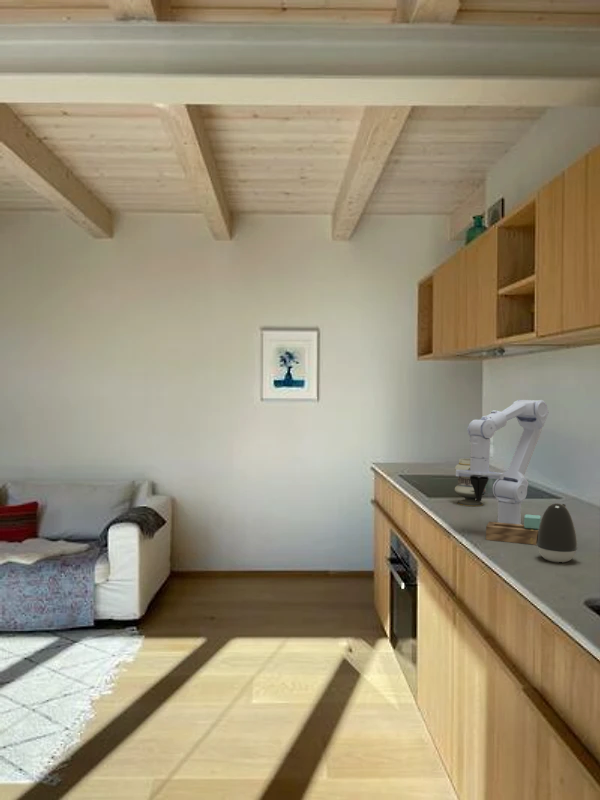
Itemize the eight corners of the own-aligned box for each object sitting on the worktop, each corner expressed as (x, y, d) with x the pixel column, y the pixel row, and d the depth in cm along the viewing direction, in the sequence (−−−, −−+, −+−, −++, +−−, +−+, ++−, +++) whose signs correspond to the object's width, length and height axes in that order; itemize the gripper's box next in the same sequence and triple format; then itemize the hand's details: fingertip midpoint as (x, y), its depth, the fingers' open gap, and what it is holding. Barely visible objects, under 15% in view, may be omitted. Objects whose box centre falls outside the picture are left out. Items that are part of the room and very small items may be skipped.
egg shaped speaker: (582, 559, 166) (583, 503, 166) (569, 567, 159) (570, 508, 158) (544, 552, 173) (545, 498, 173) (530, 560, 165) (531, 503, 165)
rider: (523, 534, 185) (524, 517, 185) (525, 531, 189) (525, 514, 189) (539, 536, 183) (540, 518, 183) (540, 532, 188) (540, 515, 188)
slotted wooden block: (485, 539, 187) (486, 518, 187) (489, 534, 195) (489, 513, 195) (572, 548, 178) (572, 526, 178) (572, 542, 186) (572, 520, 185)
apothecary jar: (464, 500, 255) (465, 456, 255) (491, 504, 247) (492, 459, 247) (448, 503, 247) (449, 458, 247) (475, 508, 238) (476, 461, 238)
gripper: (454, 457, 195) (453, 500, 195) (502, 460, 189) (501, 504, 189) (458, 455, 201) (456, 497, 201) (504, 458, 196) (503, 501, 196)
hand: (478, 500), depth 196 cm, fingers closed
